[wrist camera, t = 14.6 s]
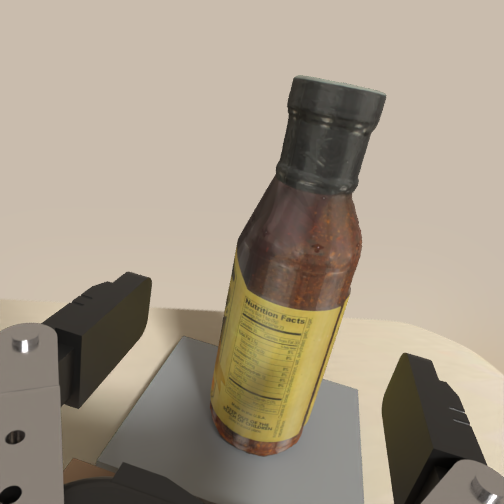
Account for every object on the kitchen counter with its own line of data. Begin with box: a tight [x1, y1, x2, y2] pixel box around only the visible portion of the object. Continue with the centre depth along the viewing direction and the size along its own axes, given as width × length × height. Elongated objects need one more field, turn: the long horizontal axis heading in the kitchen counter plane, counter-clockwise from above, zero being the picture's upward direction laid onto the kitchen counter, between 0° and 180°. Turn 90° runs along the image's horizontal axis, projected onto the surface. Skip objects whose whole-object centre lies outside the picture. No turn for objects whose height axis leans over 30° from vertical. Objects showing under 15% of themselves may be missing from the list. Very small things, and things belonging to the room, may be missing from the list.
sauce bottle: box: [210, 75, 386, 457], centre depth 21 cm, size 7×6×20 cm
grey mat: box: [96, 336, 364, 504], centre depth 25 cm, size 14×12×1 cm
